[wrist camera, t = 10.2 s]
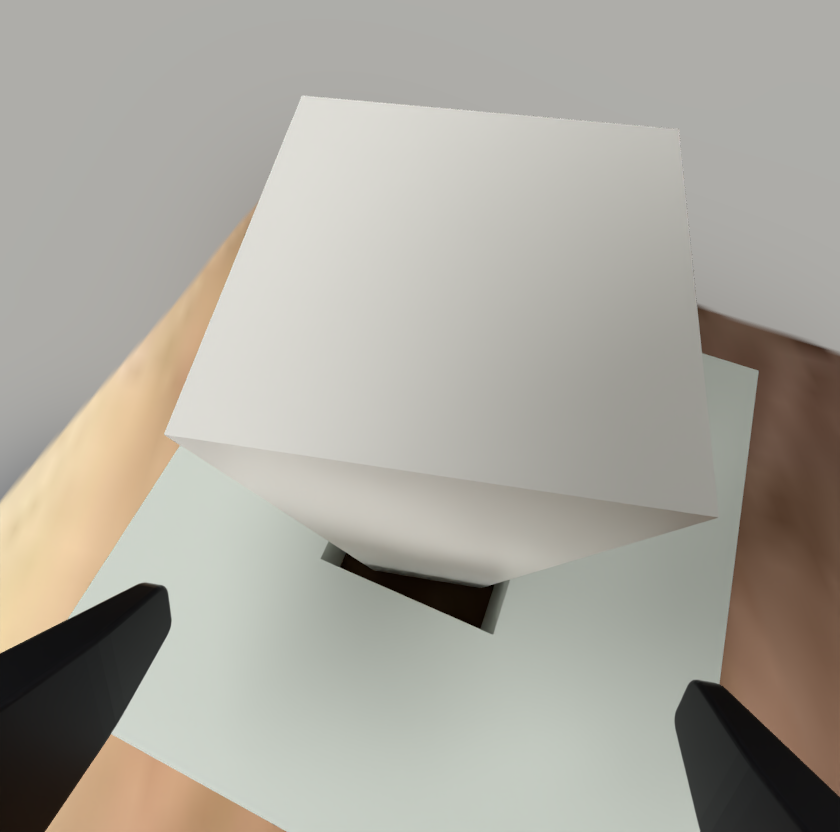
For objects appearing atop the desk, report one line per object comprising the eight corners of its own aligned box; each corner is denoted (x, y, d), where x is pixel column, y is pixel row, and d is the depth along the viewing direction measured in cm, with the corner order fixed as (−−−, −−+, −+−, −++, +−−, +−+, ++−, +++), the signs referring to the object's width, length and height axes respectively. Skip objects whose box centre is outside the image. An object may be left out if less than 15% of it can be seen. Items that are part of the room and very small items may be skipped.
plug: (480, 587, 15) (719, 516, 3) (373, 570, 15) (164, 435, 3) (490, 482, 16) (679, 129, 4) (392, 468, 16) (301, 94, 4)
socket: (613, 938, 11) (673, 1046, 9) (104, 669, 14) (25, 685, 11) (705, 408, 17) (758, 370, 14) (332, 285, 20) (317, 233, 17)
